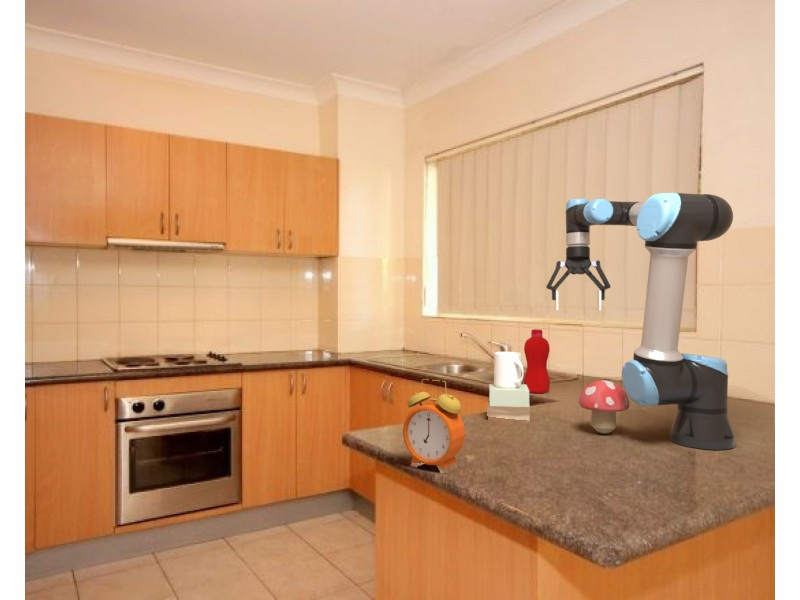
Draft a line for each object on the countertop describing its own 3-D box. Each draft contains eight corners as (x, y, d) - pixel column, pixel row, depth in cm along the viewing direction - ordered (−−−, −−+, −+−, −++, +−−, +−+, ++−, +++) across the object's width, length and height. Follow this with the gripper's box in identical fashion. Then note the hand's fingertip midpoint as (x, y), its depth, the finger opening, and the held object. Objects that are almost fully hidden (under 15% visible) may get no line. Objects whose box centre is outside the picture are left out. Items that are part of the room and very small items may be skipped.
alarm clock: (401, 466, 129) (401, 379, 129) (416, 459, 134) (415, 376, 134) (452, 476, 122) (452, 384, 121) (465, 469, 127) (465, 381, 126)
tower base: (529, 423, 172) (529, 407, 172) (487, 421, 175) (486, 405, 175) (529, 414, 185) (528, 399, 185) (489, 413, 188) (489, 398, 188)
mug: (511, 391, 172) (511, 356, 172) (488, 385, 183) (488, 352, 183) (533, 388, 176) (533, 354, 176) (509, 383, 187) (509, 351, 186)
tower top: (529, 406, 173) (529, 390, 173) (489, 405, 175) (489, 389, 175) (526, 399, 185) (526, 384, 185) (489, 398, 186) (489, 383, 186)
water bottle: (553, 390, 227) (553, 328, 227) (544, 394, 218) (544, 330, 217) (530, 388, 232) (530, 328, 232) (521, 392, 223) (521, 329, 222)
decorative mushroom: (637, 439, 151) (637, 384, 151) (587, 439, 151) (588, 384, 151) (618, 428, 165) (618, 377, 165) (572, 427, 165) (572, 376, 165)
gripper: (615, 246, 188) (615, 310, 188) (538, 248, 192) (538, 310, 192) (619, 244, 180) (619, 310, 180) (539, 246, 185) (540, 310, 185)
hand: (578, 310), depth 186 cm, fingers open, 13 cm apart
